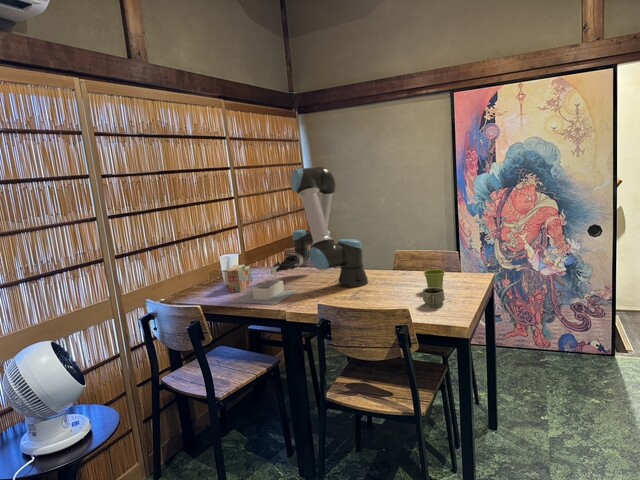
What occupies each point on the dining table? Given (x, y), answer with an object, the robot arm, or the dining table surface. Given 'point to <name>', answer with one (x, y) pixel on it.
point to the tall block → (268, 290)
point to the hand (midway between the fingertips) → (271, 271)
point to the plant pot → (434, 278)
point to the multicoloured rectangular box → (239, 277)
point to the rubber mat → (273, 300)
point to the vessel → (433, 297)
